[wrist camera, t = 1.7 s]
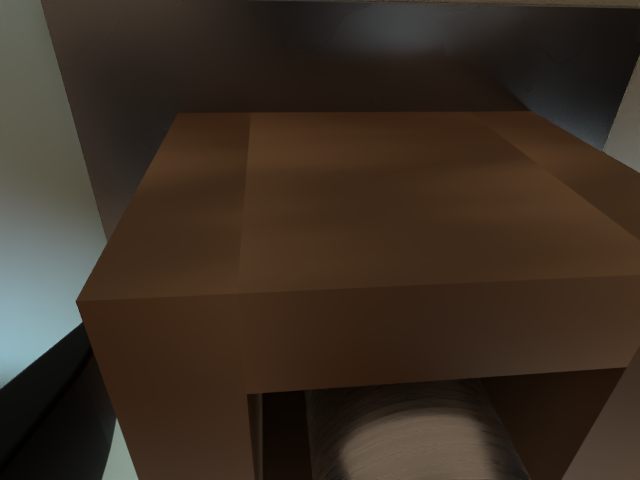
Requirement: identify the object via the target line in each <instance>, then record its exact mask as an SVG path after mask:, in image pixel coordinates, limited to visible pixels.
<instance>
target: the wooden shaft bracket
mask: <svg viewBox="0 0 640 480" xmlns="http://www.w3.org/2000/svg"><path fill="white" fill-rule="evenodd" d="M76 304H77V306H78V309H79V312H80V315H81V318H82V321H83V324H84V326H85V329H86V332H87V335H88V338H89V341H90V343H91V346H92V349H93V352H94V355H95V358H96V360H97V363H98V366H99V369H100V372H101V375H102V377H103V380H104V383H105V386H106V389H107V392H108V395H109V397H110V400H111V403H112V406H113V409H114V412H115V414H116V417H117V420H118V423H119V426H120V429H121V431H122V434H123V437H124V440H125V443H126V446H127V449H128V451H129V454H130V457H131V460H132V463H133V466H134V468H135V471H136V474H137V477H138V480H313V478H312V468H311V457H310V446H309V436H308V425H307V415H306V404H305V393H304V390H311V389H326V388H340V387H354V386H368V385H382V384H396V383H410V382H424V381H438V380H452V379H467V378H479V379H480V381H481V383H482V384H483V386H484V388H485V390H486V392H487V394H488V396H489V398H490V400H491V402H492V404H493V406H494V408H495V410H496V412H497V414H498V416H499V418H500V420H501V422H502V424H503V425H504V427H505V429H506V431H507V433H508V435H509V437H510V439H511V441H512V443H513V445H514V447H515V449H516V451H517V453H518V455H519V457H520V459H521V461H522V463H523V464H524V466H525V468H526V470H527V472H528V474H529V476H530V478H531V480H640V173H639V172H637V171H635V170H633V169H632V168H630V167H628V166H626V165H625V164H623V163H621V162H619V161H618V160H616V159H614V158H612V157H611V156H609V155H607V154H605V153H604V152H602V151H600V150H599V149H597V148H595V147H593V146H592V145H590V144H588V143H586V142H585V141H583V140H581V139H579V138H578V137H576V136H574V135H572V134H571V133H569V132H567V131H566V130H564V129H562V128H560V127H559V126H557V125H555V124H553V123H552V122H550V121H548V120H546V119H545V118H543V117H541V116H539V115H538V114H536V113H534V112H532V111H476V112H267V113H178V114H177V116H176V118H175V120H174V122H173V124H172V125H171V127H170V129H169V131H168V133H167V135H166V136H165V138H164V140H163V142H162V144H161V146H160V147H159V149H158V151H157V153H156V155H155V157H154V158H153V160H152V162H151V164H150V166H149V168H148V169H147V171H146V173H145V175H144V177H143V179H142V180H141V182H140V184H139V186H138V188H137V190H136V191H135V193H134V195H133V197H132V199H131V201H130V202H129V204H128V206H127V208H126V210H125V212H124V213H123V215H122V217H121V219H120V221H119V223H118V225H117V226H116V228H115V230H114V232H113V234H112V236H111V237H110V239H109V241H108V243H107V245H106V247H105V248H104V250H103V252H102V254H101V256H100V258H99V259H98V261H97V263H96V265H95V267H94V269H93V270H92V272H91V274H90V276H89V278H88V280H87V281H86V283H85V285H84V287H83V289H82V291H81V292H80V294H79V296H78V298H77V300H76Z"/></svg>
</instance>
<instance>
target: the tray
mask: <svg viewBox="0 0 640 480" xmlns="http://www.w3.org/2000/svg"><path fill="white" fill-rule="evenodd" d="M102 480H138V477H137V474H136V471H135V468H134V466H133V463H132V460H131V457H130V454H129V451H128V449H127V446H126V443H125V440H124V437H123V434H122V431H121V429H120V426H119V423H118V420H117V419H116V425H115V430H114V435H113V440H112V445H111V450H110V453H109V457H108V461H107V464H106V468H105V471H104V474H103V478H102Z"/></svg>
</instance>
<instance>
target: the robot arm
mask: <svg viewBox="0 0 640 480" xmlns="http://www.w3.org/2000/svg"><path fill="white" fill-rule="evenodd" d="M116 419H117V417H116V414H115V412H114V409H113V406H112V403H111V400H110V397H109V395H108V392H107V389H106V386H105V383H104V380H103V377H102V375H101V372H100V369H99V366H98V363H97V360H96V358H95V355H94V352H93V349H92V346H91V343H90V341H89V338H88V335H87V332H86V329H85V326H84V324H83V322H82V323H81V324H80V325H78V326H77V327H76V328H75V329H74V330H72V331H71V332H70V333H69V334H67V335H66V336H65V337H64V338H62V339H61V340H60V341H59V342H58V343H56V344H55V345H54V346H53V347H51V348H50V349H49V350H48V351H46V352H45V353H44V354H43V355H42V356H40V357H39V358H38V359H37V360H35V361H34V362H33V363H32V364H30V365H29V366H28V367H27V368H26V369H24V370H23V371H22V372H21V373H19V374H18V375H17V376H16V377H15V378H13V379H12V380H11V381H10V382H8V383H7V384H6V385H5V386H3V387H2V388H1V389H0V480H102V478H103V474H104V471H105V468H106V464H107V461H108V457H109V453H110V450H111V445H112V440H113V435H114V430H115V425H116Z"/></svg>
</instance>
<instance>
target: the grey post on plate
mask: <svg viewBox="0 0 640 480" xmlns="http://www.w3.org/2000/svg"><path fill="white" fill-rule="evenodd" d="M41 3H42V6H43V10H44V14H45V17H46V21H47V25H48V28H49V32H50V36H51V39H52V43H53V46H54V50H55V54H56V57H57V61H58V65H59V68H60V72H61V75H62V79H63V83H64V86H65V90H66V94H67V97H68V101H69V104H70V108H71V112H72V115H73V119H74V123H75V126H76V130H77V133H78V137H79V141H80V144H81V148H82V152H83V155H84V159H85V162H86V166H87V170H88V173H89V177H90V181H91V184H92V188H93V191H94V195H95V199H96V202H97V206H98V210H99V213H100V217H101V220H102V224H103V228H104V231H105V235H106V239H107V242H108V241H109V239H110V237H111V236H112V234H113V232H114V230H115V228H116V226H117V225H118V223H119V221H120V219H121V217H122V215H123V213H124V212H125V210H126V208H127V206H128V204H129V202H130V201H131V199H132V197H133V195H134V193H135V191H136V190H137V188H138V186H139V184H140V182H141V180H142V179H143V177H144V175H145V173H146V171H147V169H148V168H149V166H150V164H151V162H152V160H153V158H154V157H155V155H156V153H157V151H158V149H159V147H160V146H161V144H162V142H163V140H164V138H165V136H166V135H167V133H168V131H169V129H170V127H171V125H172V124H173V122H174V120H175V118H176V116H177V114H178V113H267V112H476V111H532V112H534V113H536V114H538V115H539V116H541V117H543V118H545V119H546V120H548V121H550V122H552V123H553V124H555V125H557V126H559V127H560V128H562V129H564V130H566V131H567V132H569V133H571V134H572V135H574V136H576V137H578V138H579V139H581V140H583V141H585V142H586V143H588V144H590V145H592V146H593V147H595V148H597V149H599V150H600V151H602V150H603V147H604V144H605V142H606V139H607V137H608V134H609V132H610V129H611V127H612V124H613V121H614V119H615V116H616V114H617V111H618V109H619V106H620V103H621V101H622V98H623V96H624V93H625V91H626V88H627V85H628V83H629V80H630V78H631V75H632V73H633V70H634V67H635V65H636V62H637V60H638V57H639V55H640V7H633V6H588V5H543V4H498V3H453V2H408V1H363V0H41ZM304 393H305V404H306V415H307V425H308V436H309V446H310V457H311V468H312V478H313V480H531V478H530V476H529V474H528V472H527V470H526V468H525V466H524V464H523V463H522V461H521V459H520V457H519V455H518V453H517V451H516V449H515V447H514V445H513V443H512V441H511V439H510V437H509V435H508V433H507V431H506V429H505V427H504V425H503V424H502V422H501V420H500V418H499V416H498V414H497V412H496V410H495V408H494V406H493V404H492V402H491V400H490V398H489V396H488V394H487V392H486V390H485V388H484V386H483V384H482V383H481V381H480V379H479V378H467V379H452V380H438V381H424V382H410V383H396V384H382V385H368V386H354V387H340V388H326V389H311V390H304Z"/></svg>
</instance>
